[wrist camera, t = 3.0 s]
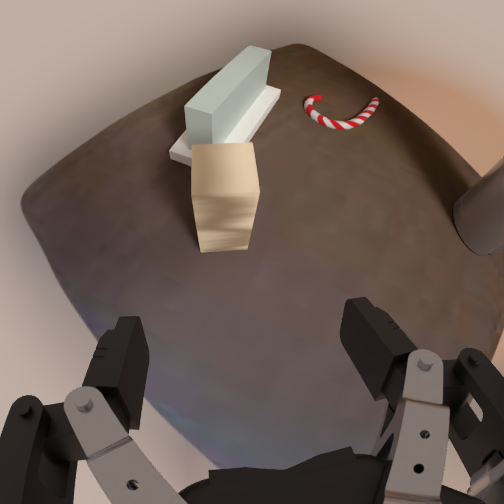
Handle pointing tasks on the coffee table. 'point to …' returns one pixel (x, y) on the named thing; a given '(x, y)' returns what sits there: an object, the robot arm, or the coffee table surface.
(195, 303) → the coffee table surface
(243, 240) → the pine block
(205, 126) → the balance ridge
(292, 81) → the coffee table surface
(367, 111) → the candy cane
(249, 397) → the coffee table surface
